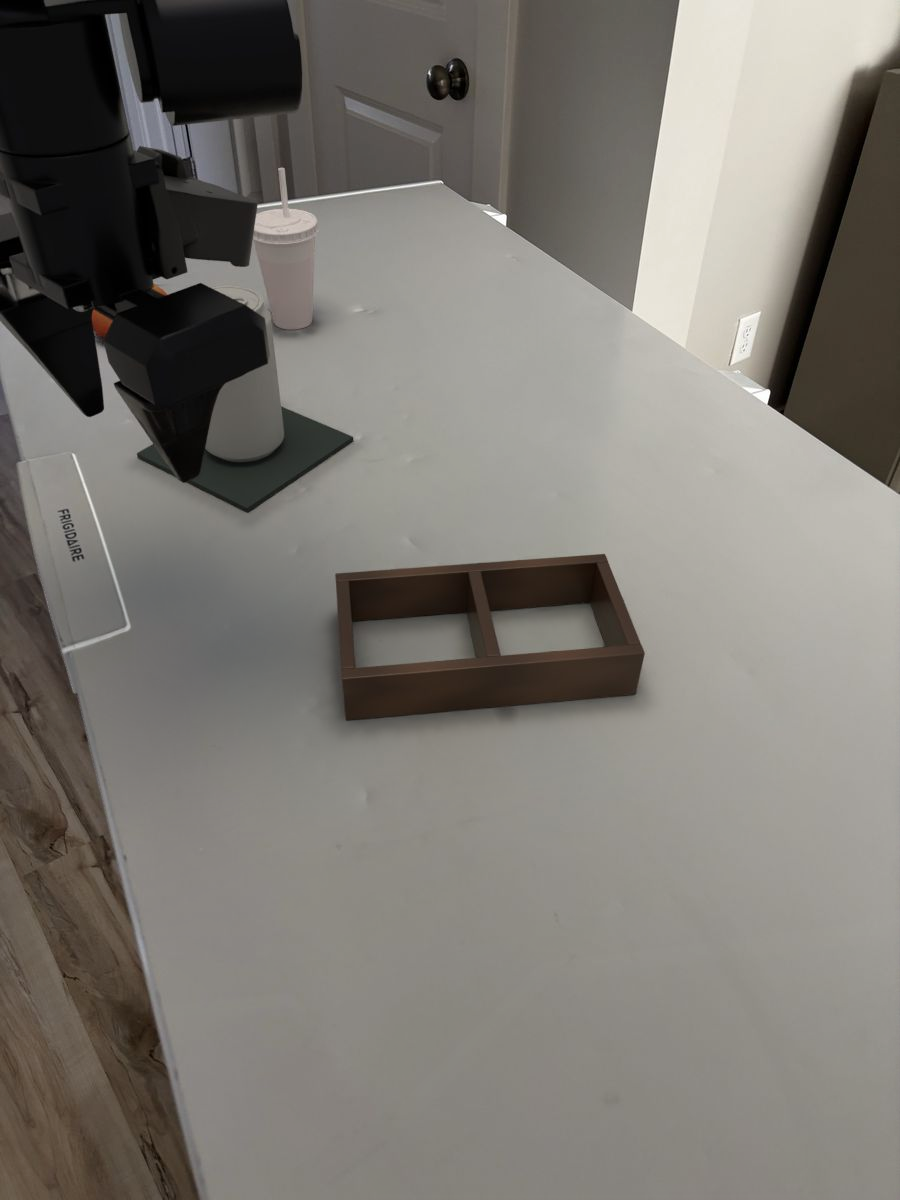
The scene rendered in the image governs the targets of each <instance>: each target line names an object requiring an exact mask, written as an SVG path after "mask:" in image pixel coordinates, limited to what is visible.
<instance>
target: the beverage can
mask: <svg viewBox="0 0 900 1200" xmlns="http://www.w3.org/2000/svg"><path fill="white" fill-rule="evenodd" d="M209 287H210V288H212V289H214V290H216V291H218V292H220V293H222V294H224V295H226V296H228V297H230V298H232V299H234V300H236V301H238V302H240V303H242V304H244V305H246V306H248V307H249V308H251V309H252V310H254V311H255V312H257V313H258V314H260V315H261V316H263V317H264V318H265V322H266V330H267V337H268V345H269V352H270V357H269V362H268V364H266V365H264V366H262V367H259V368H257V369H255V370H253V371H250V372H248V373H246V374H245V375H243V376H241V377H239V378H236V379H234V380H232V381H230V382H227V383H225V384H224V386H223V387H222V388H221V390H220V392H219V394H218V397H217V400H216V403H215V406H214V409H213V412H212V417H211V422H210V426H209V431H208V436H207V442H206V447H205V449H206V450H207V451H208V452H210V453H211V454H213V455H215V456H217V457H219V458H221V459H224V460H227V461H231V462H250V461H255V460H259V459H261V458H264V457H266V456H268V455H269V454H271V453H272V452H273V451H274V450H275V449H276V448H277V447H278V446H279V445H280V444H281V443H282V441H283V438H284V427H283V418H282V409H281V406H282V403H281V401H282V400H281V393H280V383H279V376H278V367H277V359H276V358H277V357H276V350H275V343H274V341H275V340H274V333H273V327H272V326H273V325H272V324H273V323H272V318H271V316H272V315H271V313H270V311H269V309H267V307H266V306H265V304H264V303H265V301H264V297H263V295H262V294H261V293H260V292H258V291H256V290H255V289H253V288H250V287H247V286H242V285H231V284H229V285H224V284H223V285H214V286H209Z"/></svg>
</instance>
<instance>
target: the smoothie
mask: <svg viewBox="0 0 900 1200" xmlns="http://www.w3.org/2000/svg"><path fill="white" fill-rule="evenodd" d="M278 179H279V180H278V181H279V190H280V197H281V208H274V209H268V210H264V211H261V212H258V213H256V220H255V227H254V234H253V244H254V247H255V248H254V249H255V252H256V256H257V260H258V264H259V268H260V272H261V276H262V279H263V283H264V288H265V292H266V296H267V299H268V304H269V307H270V311H271V316H272V321H273V323H274V326H275V327H277V328H279V329H283V330H287V331H288V330H289V331H291V330H292V331H293V330H300V329H304V328H307V327H309V326H310V325H311V324H312V323H313V311H314V310H313V309H314V308H313V307H314V283H315V282H314V281H315V258H316V257H315V256H316V255H315V253H316V236H317V235H318V234H319V231H320V228H319V225H318V223H319V222H318V218H317V216H315V215H314V214H313V213H311V212H309V211H306V210H302V209H295V208H289V199H288V189H287V188H288V187H287V180H286V179H287V178H286V170H285V167H279V168H278Z"/></svg>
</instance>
